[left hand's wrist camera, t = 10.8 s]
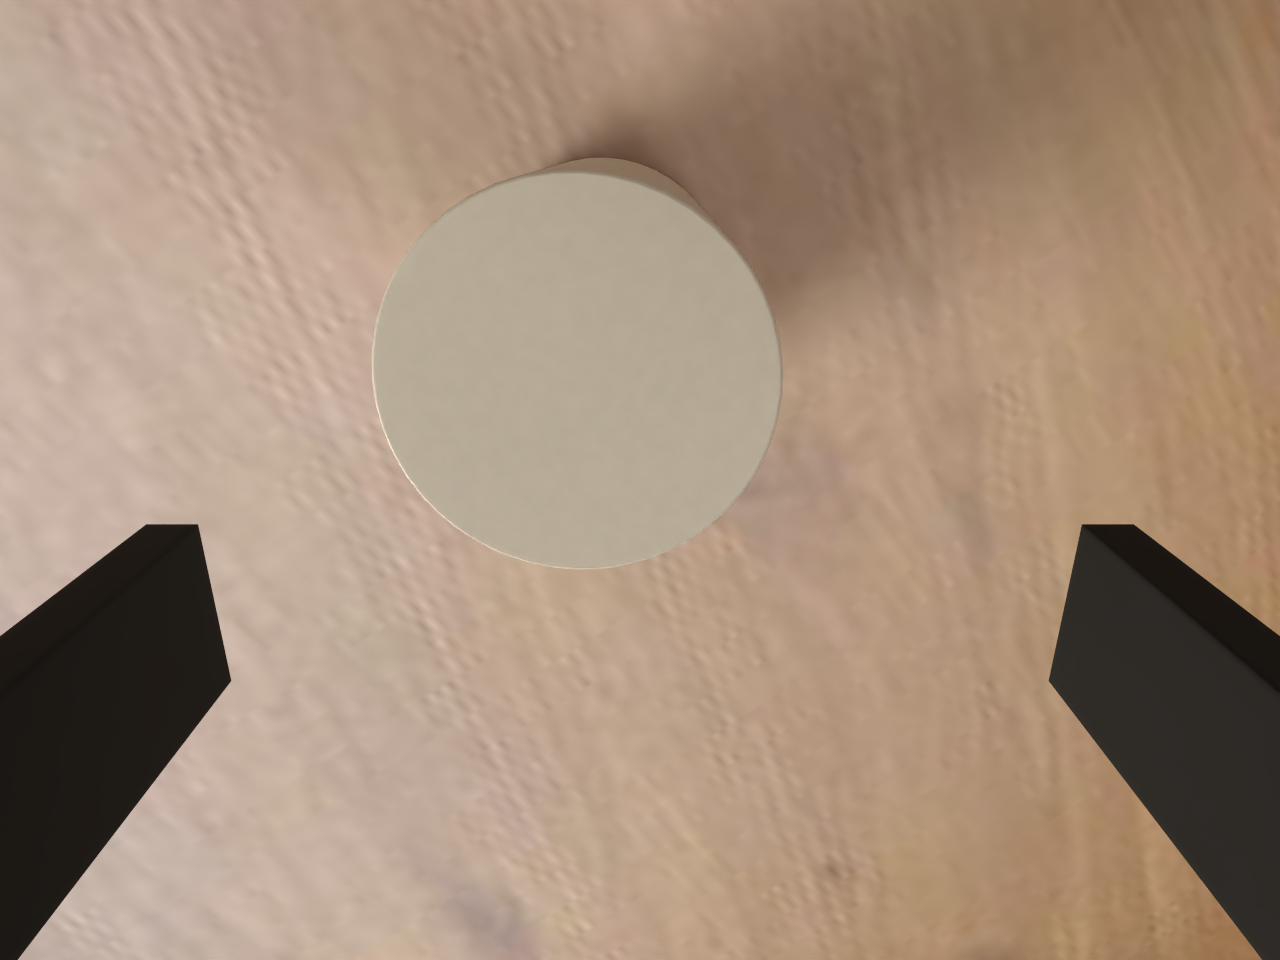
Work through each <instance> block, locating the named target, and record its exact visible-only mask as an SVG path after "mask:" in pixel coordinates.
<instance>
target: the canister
mask: <svg viewBox="0 0 1280 960" xmlns="http://www.w3.org/2000/svg"><path fill="white" fill-rule="evenodd" d="M782 380H783V366H782V354H781V344H780V339H779V335H778V331H777V326H776V322H775V318H774V315H773V312H772V310H771V307H770V304H769V302H768V299H767V297H766V294H765V292H764V290H763V288H762V286H761V284H760V282H759V280H758V279H757V277H756V275H755V273H754V271H753V269H752V268H751V266H750V265H749V264H748V262H747V261H746V259H745V258H744V257H743V255H742V254H741V253H740V251H739V250H738V249H737V247H736V246H735V245H734V243H733V242H732V241H731V240H730V239H729V238H728V237H727V236H726V234H725V233H724V232H723V231H722V230H721V229H720V228H719V227H718V226H717V224H716V223H715V222H714V221H713V220H712V219H711V218H710V217H709V216H708V214H707V213H706V212H705V211H704V210H703V209H702V208H701V207H700V206H699V204H698V203H697V202H696V201H695V200H694V199H693V198H692V197H691V196H690V195H689V194H688V193H687V192H686V191H685V190H684V189H683V188H682V187H680V186H679V185H678V184H677V183H675V182H674V181H673V180H671V179H670V178H668V177H666V176H665V175H663V174H661V173H660V172H658V171H656V170H654V169H652V168H649V167H647V166H644V165H642V164H639V163H635V162H631V161H628V160H624V159H616V158H607V157H605V158H586V159H579V160H573V161H570V162H566V163H563V164H559V165H556V166H552V167H548V168H545V169H541V170H538V171H534V172H531V173H527V174H524V175H521V176H517V177H514V178H511V179H508V180H505V181H501V182H498V183H495V184H493V185H491V186H489V187H487V188H485V189H483V190H481V191H478V192H476V193H474V194H472V195H470V196H468V197H467V198H465V199H464V200H462V201H461V202H459V203H458V204H456V205H455V206H453V207H452V208H450V209H449V210H447V211H446V212H445V213H444V214H443V215H442V216H440V217H439V218H438V219H437V220H436V221H435V222H434V223H433V224H432V225H430V226H429V227H428V228H427V229H426V230H425V231H424V232H423V233H422V235H421V236H420V237H419V238H418V239H417V241H416V242H415V243H414V244H413V245H412V247H411V248H410V249H409V250H408V251H407V253H406V255H405V256H404V258H403V260H402V261H401V263H400V264H399V266H398V268H397V269H396V271H395V273H394V274H393V276H392V279H391V281H390V283H389V285H388V288H387V290H386V292H385V295H384V297H383V299H382V303H381V306H380V310H379V314H378V317H377V321H376V325H375V331H374V339H373V347H372V381H373V388H374V395H375V402H376V407H377V410H378V414H379V417H380V421H381V425H382V428H383V431H384V433H385V436H386V438H387V440H388V443H389V445H390V447H391V450H392V452H393V454H394V456H395V457H396V459H397V461H398V463H399V464H400V466H401V468H402V469H403V471H404V473H405V475H406V476H407V477H408V479H409V480H410V481H411V483H412V484H413V485H414V487H415V488H416V489H417V491H418V492H419V493H420V494H421V496H422V497H423V498H424V499H425V500H426V501H427V502H428V503H429V504H430V505H431V506H432V507H433V508H434V509H435V510H436V511H437V512H438V513H439V514H440V515H441V516H442V517H444V518H445V519H446V520H447V521H449V522H450V523H451V524H452V525H454V526H455V527H456V528H457V529H459V530H460V531H462V532H463V533H465V534H466V535H468V536H470V537H471V538H473V539H474V540H476V541H478V542H479V543H481V544H483V545H485V546H487V547H489V548H492V549H494V550H496V551H498V552H500V553H502V554H505V555H508V556H511V557H514V558H517V559H519V560H522V561H525V562H530V563H534V564H539V565H543V566H548V567H556V568H566V569H601V568H609V567H616V566H623V565H627V564H631V563H635V562H639V561H643V560H647V559H649V558H652V557H654V556H657V555H659V554H662V553H665V552H667V551H670V550H671V549H673V548H675V547H677V546H679V545H681V544H683V543H684V542H686V541H688V540H690V539H692V538H693V537H694V536H696V535H697V534H699V533H700V532H702V531H703V530H704V529H706V528H707V527H709V526H710V525H711V524H712V523H713V522H715V521H716V520H717V519H718V518H719V517H720V516H721V515H722V514H723V513H724V512H726V511H727V510H728V509H729V508H730V507H731V505H732V504H733V503H734V502H735V501H736V500H737V498H738V497H739V496H740V495H741V494H742V492H743V491H744V490H745V489H746V487H747V486H748V484H749V483H750V481H751V480H752V478H753V476H754V475H755V473H756V472H757V470H758V469H759V467H760V465H761V462H762V460H763V458H764V456H765V454H766V452H767V450H768V448H769V446H770V442H771V439H772V436H773V433H774V430H775V427H776V424H777V420H778V415H779V409H780V404H781V398H782Z"/></svg>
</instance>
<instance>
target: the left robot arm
mask: <svg viewBox="0 0 1280 960" xmlns="http://www.w3.org/2000/svg"><path fill="white" fill-rule="evenodd" d="M230 682H231V677H230V673H229V668H228V663H227V659H226V654H225V649H224V645H223V640H222V635H221V631H220V626H219V621H218V616H217V612H216V607H215V602H214V598H213V593H212V588H211V584H210V579H209V574H208V569H207V565H206V560H205V555H204V551H203V546H202V541H201V537H200V532H199V527H198V524H146V525H145V526H144V527H142V528H141V529H140V530H138V531H137V532H136V533H135V534H133V535H132V536H131V537H129V538H128V539H127V540H125V541H124V542H123V543H121V544H120V545H119V546H118V547H116V548H115V549H114V550H112V551H111V552H110V553H108V554H107V555H106V556H104V557H103V558H102V559H101V560H99V561H98V562H97V563H95V564H94V565H93V566H91V567H90V568H89V569H87V570H86V571H85V572H84V573H82V574H81V575H80V576H78V577H77V578H76V579H74V580H73V581H72V582H70V583H69V584H68V585H67V586H65V587H64V588H63V589H61V590H60V591H59V592H57V593H56V594H55V595H53V596H52V597H51V598H50V599H48V600H47V601H46V602H44V603H43V604H42V605H40V606H39V607H38V608H36V609H35V610H34V611H33V612H31V613H30V614H29V615H27V616H26V617H25V618H23V619H22V620H21V621H19V622H18V623H17V624H16V625H14V626H13V627H12V628H10V629H9V630H8V631H6V632H5V633H4V634H2V635H1V636H0V960H18V959H19V957H20V956H21V955H22V953H23V952H24V951H25V949H26V948H27V947H28V945H29V944H30V943H31V942H32V940H33V939H34V938H35V936H36V935H37V934H38V932H39V931H40V930H41V928H42V927H43V926H44V925H45V923H46V922H47V921H48V919H49V918H50V917H51V915H52V914H53V913H54V912H55V910H56V909H57V908H58V906H59V905H60V904H61V902H62V901H63V900H64V898H65V897H66V896H67V895H68V893H69V892H70V891H71V889H72V888H73V887H74V885H75V884H76V883H77V881H78V880H79V879H80V878H81V876H82V875H83V874H84V872H85V871H86V870H87V868H88V867H89V866H90V865H91V863H92V862H93V861H94V859H95V858H96V857H97V855H98V854H99V853H100V851H101V850H102V849H103V848H104V846H105V845H106V844H107V842H108V841H109V840H110V838H111V837H112V836H113V834H114V833H115V832H116V831H117V829H118V828H119V827H120V825H121V824H122V823H123V821H124V820H125V819H126V818H127V816H128V815H129V814H130V812H131V811H132V810H133V808H134V807H135V806H136V804H137V803H138V802H139V801H140V799H141V798H142V797H143V795H144V794H145V793H146V791H147V790H148V789H149V787H150V786H151V785H152V784H153V782H154V781H155V780H156V778H157V777H158V776H159V774H160V773H161V772H162V771H163V769H164V768H165V767H166V765H167V764H168V763H169V761H170V760H171V759H172V757H173V756H174V755H175V754H176V752H177V751H178V750H179V748H180V747H181V746H182V744H183V743H184V742H185V740H186V739H187V738H188V737H189V735H190V734H191V733H192V731H193V730H194V729H195V727H196V726H197V725H198V724H199V722H200V721H201V720H202V718H203V717H204V716H205V714H206V713H207V712H208V710H209V709H210V708H211V707H212V705H213V704H214V703H215V701H216V700H217V699H218V697H219V696H220V695H221V693H222V692H223V691H224V690H225V688H226V687H227V686H228V684H229V683H230ZM1049 682H1050V683H1051V684H1052V686H1053V687H1054V688H1055V690H1056V691H1057V692H1058V693H1059V695H1060V696H1061V697H1062V699H1063V700H1064V701H1065V703H1066V704H1067V705H1068V707H1069V708H1070V709H1071V710H1072V712H1073V713H1074V714H1075V716H1076V717H1077V718H1078V720H1079V721H1080V722H1081V724H1082V725H1083V726H1084V727H1085V729H1086V730H1087V731H1088V733H1089V734H1090V735H1091V737H1092V738H1093V739H1094V740H1095V742H1096V743H1097V744H1098V746H1099V747H1100V748H1101V750H1102V751H1103V752H1104V754H1105V755H1106V756H1107V757H1108V759H1109V760H1110V761H1111V763H1112V764H1113V765H1114V767H1115V768H1116V769H1117V771H1118V772H1119V773H1120V774H1121V776H1122V777H1123V778H1124V780H1125V781H1126V782H1127V784H1128V785H1129V786H1130V787H1131V789H1132V790H1133V791H1134V793H1135V794H1136V795H1137V797H1138V798H1139V799H1140V801H1141V802H1142V803H1143V804H1144V806H1145V807H1146V808H1147V810H1148V811H1149V812H1150V814H1151V815H1152V816H1153V818H1154V819H1155V820H1156V821H1157V823H1158V824H1159V825H1160V827H1161V828H1162V829H1163V831H1164V832H1165V833H1166V834H1167V836H1168V837H1169V838H1170V840H1171V841H1172V842H1173V844H1174V845H1175V846H1176V848H1177V849H1178V850H1179V851H1180V853H1181V854H1182V855H1183V857H1184V858H1185V859H1186V861H1187V862H1188V863H1189V865H1190V866H1191V867H1192V868H1193V870H1194V871H1195V872H1196V874H1197V875H1198V876H1199V878H1200V879H1201V880H1202V881H1203V883H1204V884H1205V885H1206V887H1207V888H1208V889H1209V891H1210V892H1211V893H1212V895H1213V896H1214V897H1215V898H1216V900H1217V901H1218V902H1219V904H1220V905H1221V906H1222V908H1223V909H1224V910H1225V912H1226V913H1227V914H1228V915H1229V917H1230V918H1231V919H1232V921H1233V922H1234V923H1235V925H1236V926H1237V927H1238V928H1239V930H1240V931H1241V932H1242V934H1243V935H1244V936H1245V938H1246V939H1247V940H1248V942H1249V943H1250V944H1251V945H1252V947H1253V948H1254V949H1255V951H1256V952H1257V953H1258V955H1259V956H1260V957H1261V959H1262V960H1280V636H1279V635H1278V634H1276V633H1275V632H1274V631H1272V630H1271V629H1270V628H1268V627H1267V626H1266V625H1264V624H1263V623H1262V622H1261V621H1259V620H1258V619H1257V618H1255V617H1254V616H1253V615H1251V614H1250V613H1249V612H1247V611H1246V610H1245V609H1244V608H1242V607H1241V606H1240V605H1238V604H1237V603H1236V602H1234V601H1233V600H1232V599H1230V598H1229V597H1228V596H1227V595H1225V594H1224V593H1223V592H1221V591H1220V590H1219V589H1217V588H1216V587H1215V586H1213V585H1212V584H1211V583H1210V582H1208V581H1207V580H1206V579H1204V578H1203V577H1202V576H1200V575H1199V574H1198V573H1196V572H1195V571H1194V570H1193V569H1191V568H1190V567H1189V566H1187V565H1186V564H1185V563H1183V562H1182V561H1181V560H1179V559H1178V558H1177V557H1176V556H1174V555H1173V554H1172V553H1170V552H1169V551H1168V550H1166V549H1165V548H1164V547H1162V546H1161V545H1160V544H1159V543H1157V542H1156V541H1155V540H1153V539H1152V538H1151V537H1149V536H1148V535H1147V534H1145V533H1144V532H1143V531H1142V530H1140V529H1139V528H1138V527H1136V526H1135V525H1134V524H1082V527H1081V532H1080V537H1079V541H1078V546H1077V551H1076V555H1075V560H1074V565H1073V569H1072V574H1071V579H1070V584H1069V588H1068V593H1067V598H1066V602H1065V607H1064V612H1063V616H1062V621H1061V626H1060V630H1059V635H1058V640H1057V645H1056V649H1055V654H1054V659H1053V663H1052V668H1051V673H1050V677H1049Z"/></svg>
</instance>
